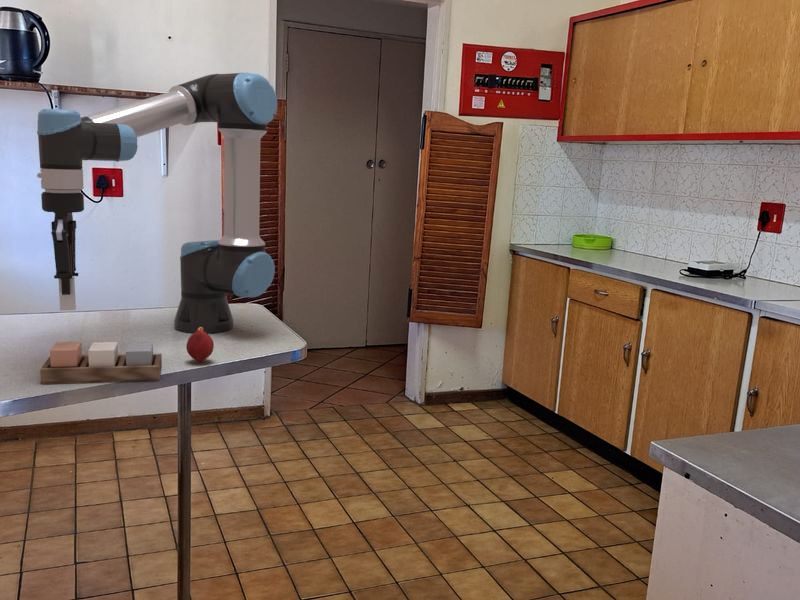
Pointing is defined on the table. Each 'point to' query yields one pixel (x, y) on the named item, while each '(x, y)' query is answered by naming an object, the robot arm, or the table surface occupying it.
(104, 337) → the table surface
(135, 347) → the slate key
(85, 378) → the wooden compartment tray
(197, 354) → the onion
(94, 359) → the cream key
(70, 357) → the terracotta key
